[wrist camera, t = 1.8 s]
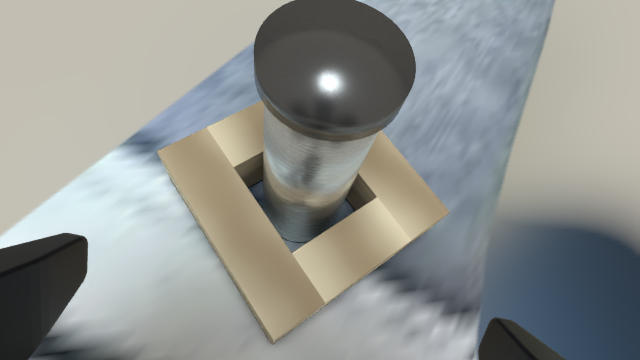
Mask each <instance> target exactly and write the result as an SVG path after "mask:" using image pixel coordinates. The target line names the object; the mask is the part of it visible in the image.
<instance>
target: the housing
mask: <svg viewBox="0 0 640 360" xmlns="http://www.w3.org/2000/svg"><path fill="white" fill-rule="evenodd" d="M157 152H158V154H159V157H160V159H161V161H162V163H163V165H164V167H165V169H166V171H167V173H168V175H169V177H170V179H171V181H172V182H173V184H174V186H175V187H176V189H177V190H178V192H179V194H180V195H181V197H182V199H183V200H184V202H185V203H186V205H187V207H188V208H189V210H190V212H191V213H192V215H193V217H194V218H195V220H196V221H197V223H198V225H199V226H200V228H201V230H202V231H203V233H204V234H205V236H206V238H207V239H208V241H209V243H210V244H211V246H212V247H213V249H214V251H215V252H216V254H217V256H218V257H219V259H220V261H221V262H222V264H223V265H224V267H225V269H226V270H227V272H228V274H229V275H230V277H231V278H232V280H233V282H234V283H235V285H236V287H237V288H238V290H239V291H240V293H241V295H242V296H243V298H244V300H245V301H246V303H247V305H248V306H249V308H250V309H251V311H252V313H253V314H254V316H255V318H256V319H257V321H258V322H259V324H260V326H261V327H262V329H263V331H264V332H265V334H266V335H267V337H268V339H269V340H270V342H271V344H274V343H275V342H277V341H278V340H279V339H281V338H282V337H283V336H285V335H286V334H287V333H289V332H290V331H292V330H293V329H294V328H296V327H297V326H298V325H300V324H301V323H302V322H304V321H305V320H307V319H308V318H309V317H311V316H312V315H313V314H315V313H316V312H317V311H319V310H320V309H322V308H323V307H324V306H326V305H327V304H328V303H330V302H331V301H332V300H334V299H335V298H336V297H338V296H339V295H341V294H342V293H343V292H345V291H346V290H347V289H349V288H350V287H351V286H353V285H354V284H356V283H357V282H358V281H360V280H361V279H362V278H364V277H365V276H366V275H368V274H369V273H371V272H372V271H373V270H375V269H376V268H377V267H379V266H380V265H381V264H383V263H384V262H386V261H387V260H388V259H390V258H391V257H392V256H394V255H395V254H396V253H398V252H399V251H401V250H402V249H403V248H405V247H406V246H407V245H409V244H410V243H411V242H413V241H414V240H416V239H417V238H418V237H420V236H421V235H422V234H424V233H425V232H426V231H428V230H429V229H430V228H431V227H432V226H434V225H435V224H436V223H437V222H439V221H440V220H441V219H442V218H444V217H445V216H446V215H447V214H448V213H450V212H449V210H448V209H447V208H446V207H445V206H444V205H443V203H442V202H441V201H440V200H439V199H438V197H437V196H436V195H435V194H434V193H433V191H432V190H431V189H430V188H429V187H428V185H427V184H426V183H425V182H424V181H423V180H422V178H421V177H420V176H419V175H418V174H417V172H416V171H415V170H414V169H413V168H412V166H411V165H410V164H409V163H408V162H407V160H406V159H405V158H404V157H403V156H402V154H401V153H400V152H399V151H398V150H397V149H396V147H395V146H394V145H393V144H392V143H391V141H390V140H389V139H388V138H387V137H386V135H385V134H384V133H383V132H382V131H381V130H380V131H379V132H378V134H377V136H376V138H375V140H374V142H373V144H372V146H371V148H370V150H369V152H368V154H367V156H366V158H365V160H364V162H363V164H362V166H361V168H360V170H359V172H358V174H357V176H356V178H355V180H354V182H353V184H352V186H351V188H350V190H349V192H348V194H347V196H346V198H347V200H348V201H349V202H350V204H351V205H352V206H353V208H354V209H355V210H356V211H355V212H354V213H352V214H351V215H349V216H348V217H346V218H345V219H343V220H342V221H340V222H339V223H337V224H335V225H334V226H332V227H331V228H329V229H328V230H326V231H325V232H323V233H322V234H320V235H319V236H317V237H316V238H314V239H313V240H311V241H310V242H308V243H306V244H305V245H303V246H302V247H300V248H299V249H297V250H296V251H294V252H293V253H291V251H290V250H289V248H288V247H287V245H286V244H285V242H284V241H283V240H282V238H281V237H280V235H279V234H278V232H277V231H276V229H275V228H274V226H273V225H272V223H271V222H270V220H269V219H268V217H267V216H266V214H265V213H264V211H263V210H262V209H261V207H260V206H259V204H258V203H257V201H256V200H255V198H254V197H253V195H252V194H251V192H250V191H249V189H248V187H250V186H252V185H253V184H255V183H257V182H259V181H260V180H262V179H263V153H264V103H263V101H260V102H258V103H256V104H254V105H252V106H250V107H248V108H245V109H243V110H241V111H239V112H237V113H235V114H233V115H231V116H229V117H227V118H225V119H223V120H221V121H219V122H216V123H214V124H212V125H210V126H208V127H206V128H204V129H202V130H200V131H198V132H196V133H194V134H192V135H190V136H187V137H185V138H183V139H181V140H179V141H177V142H175V143H173V144H171V145H169V146H167V147H165V148H163V149H161V150H158V151H157Z"/></svg>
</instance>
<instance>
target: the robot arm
mask: <svg viewBox="0 0 640 360" xmlns="http://www.w3.org/2000/svg"><path fill="white" fill-rule="evenodd" d="M87 260H88V242H87V239H86V238H85V237H84V236H81V235H76V234H71V233H62V234H58V235H54V236H50V237H46V238H42V239H38V240H34V241H30V242H26V243H22V244H18V245H14V246H10V247H6V248H2V249H0V360H28V358H29V357H30V356H31V355H32V354H33V352H34V351H35V350H36V349H37V347H38V346H39V345H40V344H41V342H42V341H43V340H44V338H45V337H46V336H47V334H48V333H49V331H50V330H51V328H52V327H53V325H54V324H55V322H56V321H57V320H58V318H59V317H60V315H61V314H62V312H63V311H64V309H65V308H66V306H67V305H68V303H69V302H70V300H71V299H72V297H73V296H74V294H75V293H76V291H77V290H78V288H79V287H80V285H81V284H82V283H83V281H84V279H85V277H86V274H87ZM478 356H479V360H566V359H565V358H563V357H562V356H561V355H559V354H558V353H557V352H555V351H554V350H552V349H551V348H550V347H548V346H547V345H545V344H544V343H543V342H541V341H540V340H539V339H537V338H536V337H534V336H533V335H532V334H530V333H529V332H527V331H526V330H525V329H523V328H522V327H521V326H519V325H518V324H517V323H515V322H514V321H511V320H508V319H503V318H496V317H495V318H493V319H492V320H491V321H490V322H489V324H488V327H487V329H486V331H485V334H484V336H483V338H482V341H481V343H480V345H479V350H478Z"/></svg>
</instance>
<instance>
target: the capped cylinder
mask: <svg viewBox="0 0 640 360" xmlns="http://www.w3.org/2000/svg"><path fill="white" fill-rule="evenodd" d="M415 73H416V63H415V57H414V53H413V50H412V47H411V45H410V43H409V41H408V39H407V38H406V36H405V35H404V33H403V32H402V31H401V30H400V29H399V27H398V26H397V25H396V24H395V23H394V22H393V21H392V20H391V19H389V18H388V17H387V16H385V15H384V14H383V13H381V12H379V11H378V10H376V9H374V8H372V7H370V6H368V5H366V4H364V3H361V2H359V1H355V0H295V1H292V2H289V3H287V4H285V5H283V6H281V7H280V8H278V9H277V10H275V11H274V12H273V13H272V14H270V15H269V16H268V17H267V19H266V20H265V21H264V22H263V24H262V25H261V27H260V29H259V31H258V33H257V35H256V39H255V44H254V75H255V84H256V87H257V91H258V93H259V95H260V98H261V100H262V101H263V103H264V153H263V211H264V213H265V214H266V216H267V217H268V219H269V220H270V222H271V223H272V225H273V226H274V228H275V229H276V231H277V232H278V234H279V235H280V236H281V237H282V238H284V239H287V240H290V241H293V242H308V241H311V240H313V239H314V238H316V237H317V236H319V235H320V234H322V233H323V232H325V231H326V230H328V229H329V228H330V227H331V226H332V224H333V222H334V220H335V218H336V216H337V214H338V212H339V210H340V208H341V206H342V204H343V202H344V200H345V198H346V196H347V194H348V192H349V190H350V188H351V186H352V184H353V182H354V180H355V178H356V176H357V174H358V172H359V170H360V168H361V166H362V164H363V162H364V160H365V158H366V156H367V154H368V152H369V150H370V148H371V146H372V144H373V142H374V140H375V138H376V136H377V134H378V132H379V131H380V130H382V129H383V128H385V127H386V126H387V125H388V124H389V123H391V122H392V121H393V119H394V118H395V117H396V115H397V114H398V112H399V110H400V109H401V107H402V105H403V103H404V101H405V99H406V98H407V96H408V94H409V92H410V90H411V88H412V86H413V83H414V79H415Z"/></svg>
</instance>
